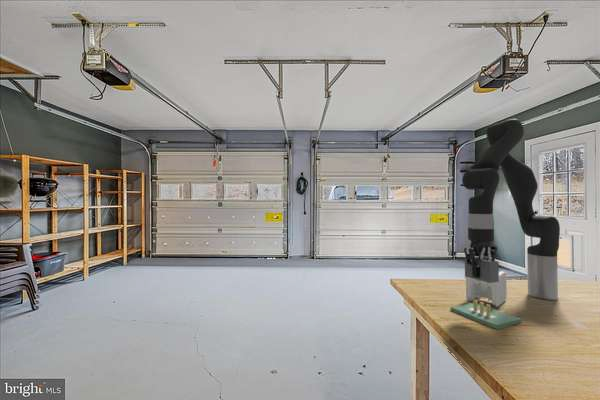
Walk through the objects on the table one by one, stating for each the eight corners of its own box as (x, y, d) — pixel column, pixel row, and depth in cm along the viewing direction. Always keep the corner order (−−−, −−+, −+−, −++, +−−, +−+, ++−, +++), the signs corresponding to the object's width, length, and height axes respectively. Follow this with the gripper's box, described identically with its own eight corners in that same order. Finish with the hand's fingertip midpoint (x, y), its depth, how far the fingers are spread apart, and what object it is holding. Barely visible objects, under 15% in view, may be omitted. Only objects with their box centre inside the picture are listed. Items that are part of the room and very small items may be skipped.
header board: (473, 305, 103) (472, 292, 103) (520, 322, 88) (520, 307, 88) (450, 310, 98) (450, 297, 98) (497, 329, 84) (497, 314, 84)
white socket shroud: (496, 310, 98) (496, 278, 98) (464, 302, 106) (464, 272, 106) (507, 300, 108) (507, 271, 108) (477, 293, 116) (476, 266, 116)
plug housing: (473, 274, 98) (472, 256, 98) (498, 281, 90) (498, 261, 90) (464, 276, 96) (464, 257, 96) (490, 282, 88) (490, 262, 88)
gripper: (483, 225, 99) (483, 272, 99) (456, 226, 94) (456, 276, 94) (505, 227, 92) (505, 277, 92) (477, 228, 87) (477, 282, 87)
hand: (480, 276), depth 93 cm, fingers closed on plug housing, 4 cm apart
